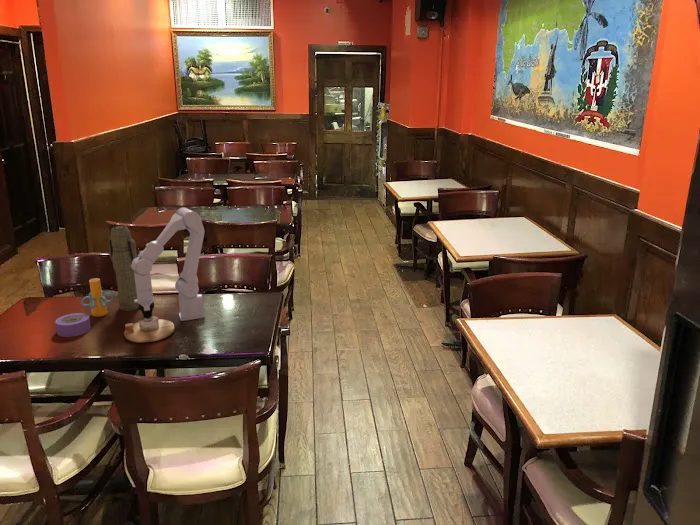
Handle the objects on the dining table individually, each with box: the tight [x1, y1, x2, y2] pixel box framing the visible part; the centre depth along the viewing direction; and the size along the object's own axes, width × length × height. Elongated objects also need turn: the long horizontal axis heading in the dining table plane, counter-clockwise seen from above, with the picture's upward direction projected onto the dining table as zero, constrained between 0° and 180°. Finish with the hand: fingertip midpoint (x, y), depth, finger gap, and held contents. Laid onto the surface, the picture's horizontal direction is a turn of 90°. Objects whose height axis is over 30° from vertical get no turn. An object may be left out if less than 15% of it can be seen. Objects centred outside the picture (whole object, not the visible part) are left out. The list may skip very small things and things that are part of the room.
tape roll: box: [54, 312, 92, 338], centre depth 217 cm, size 12×12×5 cm
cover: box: [138, 315, 159, 332], centre depth 214 cm, size 7×7×4 cm
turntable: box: [123, 318, 175, 343], centre depth 214 cm, size 18×18×4 cm
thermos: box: [107, 225, 139, 312], centre depth 234 cm, size 9×12×35 cm
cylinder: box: [80, 277, 115, 318], centre depth 230 cm, size 12×10×15 cm
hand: (148, 321), depth 219 cm, fingers closed
